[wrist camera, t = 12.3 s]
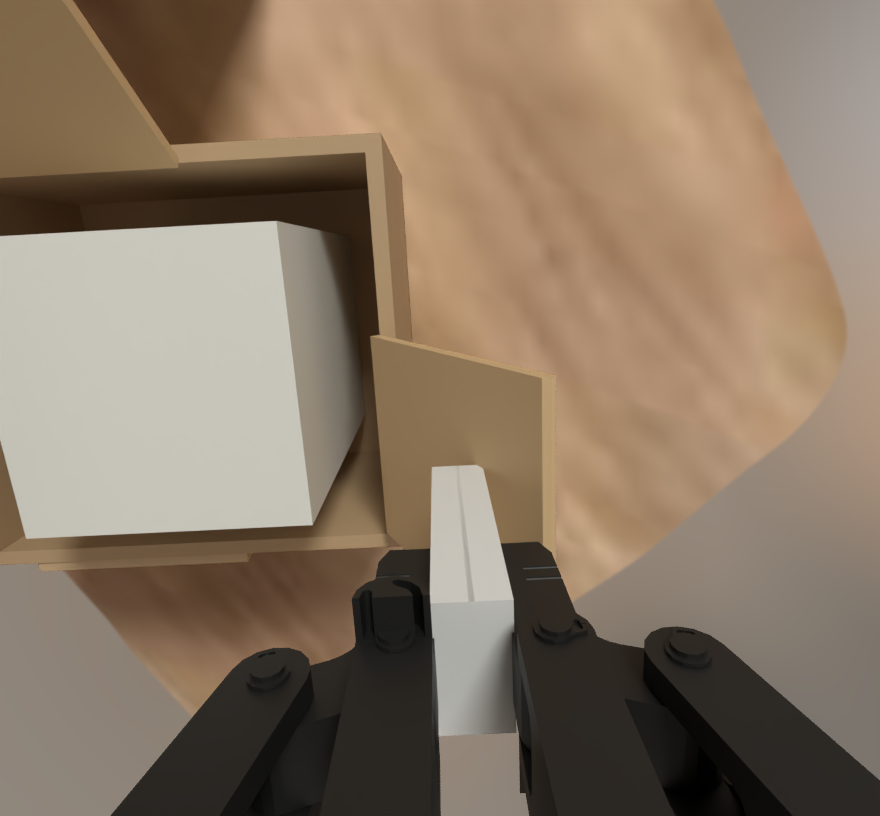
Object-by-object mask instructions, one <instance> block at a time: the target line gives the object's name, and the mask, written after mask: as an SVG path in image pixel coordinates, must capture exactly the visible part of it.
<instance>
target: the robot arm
mask: <svg viewBox="0 0 880 816" xmlns="http://www.w3.org/2000/svg"><path fill="white" fill-rule="evenodd" d="M352 605H353V615H354V625H355V636H356V643H355V647H354V648H353V649H352V650H351V651H349V652H347V653H345V654H344V655H342V656H340V657H337V658H335V659H332V660H329V661H326V662H322V663H318V664H315V665H311V666H310V664H309V659H308V658H307V657H306V656H305V655H304V654H303V653H302V652H301V651H297V650H294V649H291V648H272V649H268V650H264V651H261V652H257V653H255V654H254V655H252V656H250V657H248V658H246V659H244V660H243V661H241V662H240V663H239V664H238V665H237V666H236V667H235V668H234V669H232V671H231V672H230V673H229V674H228V675H227V677H226V678H225V679H224V680H223V681H222V683H221V684H220V685H219V686H218V687H217V689H216V690H215V691H214V692H213V693H212V695H211V696H210V697H209V698H208V699H207V701H206V702H205V703H204V704H203V705H202V707H201V708H200V709H199V710H198V711H197V713H196V714H195V715H194V716H193V717H192V719H191V720H190V721H189V722H188V723H187V725H186V726H185V727H184V728H183V729H182V731H181V732H180V733H179V734H178V736H177V737H176V738H175V739H174V740H173V741H172V743H171V744H170V745H169V746H168V747H167V749H166V750H165V751H164V752H163V753H162V755H161V756H160V757H159V758H158V759H157V761H156V762H155V763H154V764H153V765H152V767H151V768H150V769H149V770H148V771H147V773H146V774H145V775H144V776H143V777H142V779H141V780H140V781H139V782H138V783H137V785H136V786H135V787H134V788H133V790H132V791H131V792H130V793H129V794H128V795H127V797H126V798H125V799H124V800H123V801H122V803H121V804H120V805H119V806H118V807H117V809H116V810H115V811H114V812H113V813H112V815H111V816H441V811H440V753H439V736H450V735H451V736H452V735H473V734H474V735H476V734H497V733H516V720H517V726H518V731H519V756H520V757H519V760H520V793H526V798H527V804H528V810H529V816H880V780H879V779H877V778H876V777H875V776H874V775H873V774H872V773H870V772H869V771H868V770H867V769H866V768H865V767H864V766H862V765H861V764H860V763H859V762H858V761H857V760H855V759H854V758H853V757H852V756H851V755H850V754H849V753H848V752H846V751H845V750H844V749H843V748H842V747H841V746H839V745H838V744H837V743H836V742H835V741H834V740H833V739H831V738H830V737H829V736H828V735H827V734H826V733H825V732H823V731H822V730H821V729H820V728H819V727H818V726H817V725H815V724H814V723H813V722H812V721H811V720H810V719H809V718H807V717H806V716H805V715H804V714H803V713H802V712H800V711H799V710H798V709H797V708H796V707H795V706H794V705H792V704H791V703H790V702H789V701H788V700H787V699H786V698H784V697H783V696H782V695H781V694H780V693H779V692H777V691H776V690H775V689H774V688H773V687H772V686H771V685H769V684H768V683H767V682H766V681H765V680H764V679H762V677H760V676H759V675H758V674H757V673H756V672H755V671H753V670H752V669H751V668H750V667H749V666H748V665H746V664H745V663H744V662H743V661H742V660H741V659H740V658H739V657H737V656H736V655H735V654H734V653H733V652H732V651H730V650H729V649H728V648H727V647H726V646H725V645H724V644H722V643H721V642H719V641H718V640H716V639H715V638H713V637H712V636H710V635H708V634H705V633H703V632H700V631H697V630H695V629H689V628H684V627H665V628H660V629H658V630H656V631H653V632H651V633H650V634H649V635H648V637H647V638H646V639H645V644H644V648H639V647H633V646H627V645H621V644H617V643H613V642H609V641H607V640H604V639H602V638H599V637H597V635H596V632H595V630H594V629H593V627H592V626H591V624H590V623H589V622H588V621H587V620H586V619H585V618H583V617H581V616H580V615H578V614H577V613H576V612H575V609H574V607H573V604H572V602H571V600H570V597H569V595H568V592H567V590H566V587H565V585H564V582H563V580H562V579H561V575H560V572H559V570H558V568H557V565H556V562H555V560H554V557H553V555H552V552H551V551H549V550H548V549H547V548H546V547H544V546H543V545H542V544H541V543H539V542H521V543H500V539H499V535H498V530H497V526H496V522H495V517H494V513H493V509H492V504H491V500H490V496H489V492H488V487H487V483H486V479H485V474H484V470H483V468H481V467H479V466H478V465H463V466H442V467H432V487H431V548H430V549H409V550H390V551H389V552H388V553H387V554H386V555H385V556H384V557H383V558H382V559H381V560H380V561H379V563H378V569H377V574H376V579H375V580H373V581H370V582H368V583H366V584H364V585H363V586H362V587H360V588H359V589H358V590H357V591H356V592H355V594H354V596H353V598H352Z"/></svg>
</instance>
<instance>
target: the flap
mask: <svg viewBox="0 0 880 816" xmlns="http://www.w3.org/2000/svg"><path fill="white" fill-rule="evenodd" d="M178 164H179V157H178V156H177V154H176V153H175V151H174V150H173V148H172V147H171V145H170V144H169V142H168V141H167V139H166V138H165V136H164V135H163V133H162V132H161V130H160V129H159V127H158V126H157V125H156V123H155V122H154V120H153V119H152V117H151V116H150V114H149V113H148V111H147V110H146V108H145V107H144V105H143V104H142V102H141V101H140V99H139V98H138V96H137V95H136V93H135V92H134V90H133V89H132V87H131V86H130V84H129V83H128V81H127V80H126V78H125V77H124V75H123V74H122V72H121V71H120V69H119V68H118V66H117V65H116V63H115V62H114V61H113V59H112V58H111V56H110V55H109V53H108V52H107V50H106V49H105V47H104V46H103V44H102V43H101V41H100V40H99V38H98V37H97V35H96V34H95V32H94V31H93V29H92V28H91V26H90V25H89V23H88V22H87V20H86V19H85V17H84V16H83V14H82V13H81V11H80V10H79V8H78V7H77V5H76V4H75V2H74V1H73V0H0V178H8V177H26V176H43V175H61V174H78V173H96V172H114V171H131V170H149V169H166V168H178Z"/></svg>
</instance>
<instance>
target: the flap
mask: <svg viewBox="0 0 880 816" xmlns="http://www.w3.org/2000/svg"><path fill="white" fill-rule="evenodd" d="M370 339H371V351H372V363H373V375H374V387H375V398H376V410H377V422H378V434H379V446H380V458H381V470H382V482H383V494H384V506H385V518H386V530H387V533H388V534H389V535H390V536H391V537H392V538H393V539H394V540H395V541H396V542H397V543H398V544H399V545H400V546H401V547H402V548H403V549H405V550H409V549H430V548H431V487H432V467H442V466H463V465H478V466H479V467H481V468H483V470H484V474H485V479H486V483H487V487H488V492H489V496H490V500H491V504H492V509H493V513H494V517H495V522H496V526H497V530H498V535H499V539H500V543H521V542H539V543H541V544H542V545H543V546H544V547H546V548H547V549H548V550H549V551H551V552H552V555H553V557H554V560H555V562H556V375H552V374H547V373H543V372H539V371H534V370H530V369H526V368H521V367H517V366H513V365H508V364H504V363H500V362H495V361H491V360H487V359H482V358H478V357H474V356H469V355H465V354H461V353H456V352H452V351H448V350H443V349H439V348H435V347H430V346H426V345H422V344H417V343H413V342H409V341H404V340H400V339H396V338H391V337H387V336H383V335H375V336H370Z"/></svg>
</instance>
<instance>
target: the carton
mask: <svg viewBox="0 0 880 816" xmlns="http://www.w3.org/2000/svg"><path fill="white" fill-rule="evenodd" d="M171 147H172V148H173V150H174V151H175V153H176V154H177V156H178V157H179V164H178V168H166V169H149V170H131V171H114V172H96V173H78V174H61V175H43V176H26V177H8V178H0V565H10V564H32V563H38V566H39V570H40V571H61V570H83V569H104V568H125V567H146V566H168V565H189V564H210V563H232V562H248V561H249V560H250V558H251V556H252V555H253V553H265V552H287V551H308V550H329V549H350V548H371V547H392V546H400V545H399V544H398V543H397V542H396V541H395V540H394V539H393V538H392V537H391V536H390V535H389V534H388V533H387V530H386V518H385V506H384V494H383V482H382V470H381V458H380V446H379V434H378V422H377V410H376V398H375V387H374V375H373V363H372V351H371V339H370V336H375V335H383V336H387V337H391V338H396V339H400V340H404V341H409V342H412V330H411V314H410V299H409V284H408V268H407V253H406V237H405V222H404V207H403V191H402V176H401V174H400V172H399V170H398V167H397V165H396V163H395V161H394V159H393V157H392V155H391V153H390V151H389V149H388V147H387V145H386V143H385V140H384V138H383V136H382V134H381V133H369V134H351V135H334V136H316V137H299V138H281V139H264V140H247V141H229V142H212V143H194V144H177V145H171Z"/></svg>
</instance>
